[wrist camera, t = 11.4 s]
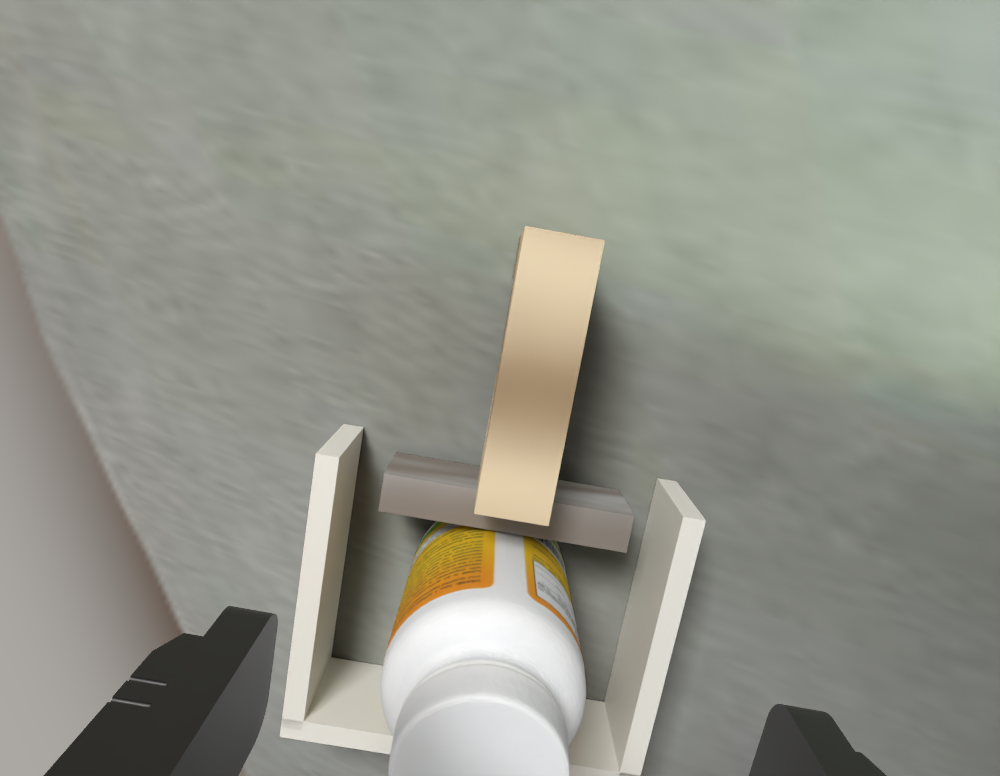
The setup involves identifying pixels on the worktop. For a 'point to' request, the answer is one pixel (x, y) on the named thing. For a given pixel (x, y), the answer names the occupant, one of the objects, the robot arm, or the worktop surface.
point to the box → (356, 685)
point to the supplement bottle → (483, 659)
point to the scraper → (526, 416)
